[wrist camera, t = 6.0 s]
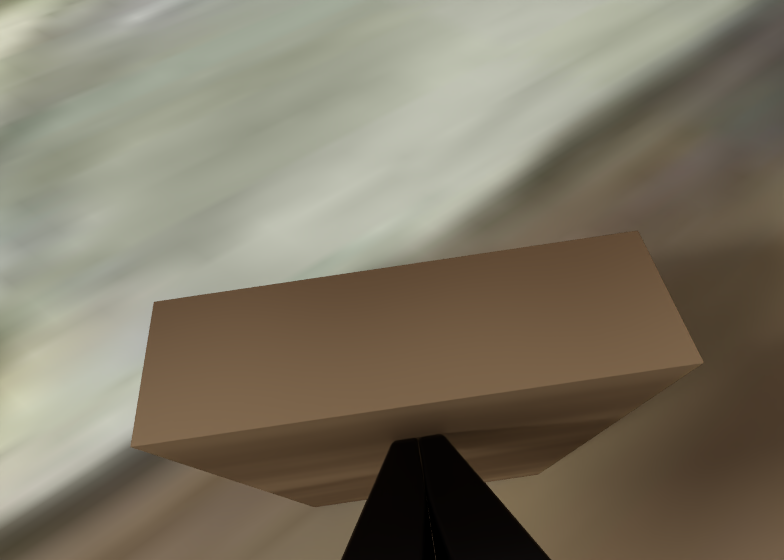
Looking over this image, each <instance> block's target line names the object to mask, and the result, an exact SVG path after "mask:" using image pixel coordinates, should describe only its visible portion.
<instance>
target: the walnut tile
mask: <svg viewBox="0 0 784 560" xmlns="http://www.w3.org/2000/svg"><path fill="white" fill-rule="evenodd" d="M703 363H704V362H703V360H702V358H701V356H700V354H699V352H698V350H697V348H696V346H695V344H694V342H693V340H692V338H691V336H690V334H689V332H688V330H687V328H686V326H685V324H684V322H683V320H682V318H681V316H680V314H679V312H678V310H677V308H676V306H675V304H674V302H673V300H672V298H671V296H670V294H669V292H668V290H667V288H666V286H665V284H664V282H663V280H662V278H661V276H660V274H659V272H658V270H657V268H656V266H655V264H654V262H653V260H652V258H651V256H650V254H649V252H648V250H647V248H646V246H645V244H644V242H643V240H642V238H641V236H640V234H639V232H638V231H632V232H625V233H618V234H611V235H605V236H598V237H591V238H584V239H577V240H571V241H564V242H557V243H550V244H544V245H537V246H530V247H523V248H516V249H510V250H503V251H496V252H489V253H482V254H476V255H469V256H462V257H455V258H449V259H442V260H435V261H428V262H421V263H415V264H408V265H401V266H394V267H388V268H381V269H374V270H367V271H360V272H354V273H347V274H340V275H333V276H327V277H320V278H313V279H306V280H299V281H293V282H286V283H279V284H272V285H265V286H259V287H252V288H245V289H238V290H232V291H225V292H218V293H211V294H204V295H198V296H191V297H184V298H177V299H171V300H164V301H157V302H154V304H153V311H152V317H151V323H150V329H149V335H148V342H147V348H146V354H145V360H144V366H143V373H142V379H141V385H140V391H139V398H138V404H137V410H136V416H135V422H134V429H133V435H132V441H131V447H132V448H135V449H138V450H142V451H145V452H148V453H151V454H154V455H157V456H160V457H163V458H166V459H169V460H172V461H175V462H178V463H181V464H184V465H187V466H190V467H194V468H197V469H200V470H203V471H206V472H209V473H212V474H215V475H218V476H221V477H224V478H227V479H230V480H233V481H236V482H239V483H242V484H245V485H249V486H252V487H255V488H258V489H261V490H264V491H267V492H270V493H273V494H276V495H279V496H282V497H285V498H288V499H291V500H294V501H297V502H300V503H304V504H307V505H310V506H313V507H319V506H326V505H332V504H339V503H346V502H353V501H360V500H367V499H368V496H369V494H370V492H371V489H372V487H373V485H374V482H375V480H376V478H377V475H378V473H379V471H380V468H381V466H382V464H383V462H384V459H385V457H386V455H387V452H388V450H389V448H390V446H391V444H392V443H393V442H394V441H397V440H404V439H411V438H415V439H417V441H418V444H419V439H420V438H421V437H425V436H431V435H438V434H442V435H444V436H445V437H446V438H447V439H448V440H449V441H450V443H451V444H452V445H453V446H454V447H455V448H456V450H457V451H458V452H459V453H460V454H461V455H462V457H463V458H464V459H465V460H466V461H467V462H468V464H469V465H470V466H471V467H472V468H473V469H474V470H475V472H476V473H477V474H478V475H479V476H480V477H481V479H482V480H483V481H484V482H490V481H497V480H503V479H510V478H517V477H524V476H531V475H538V474H539V473H541V472H542V471H544V470H545V469H547V468H548V467H550V466H551V465H553V464H554V463H556V462H557V461H559V460H560V459H562V458H563V457H565V456H566V455H568V454H569V453H571V452H572V451H574V450H575V449H577V448H578V447H580V446H581V445H583V444H584V443H586V442H587V441H588V440H590V439H591V438H593V437H594V436H596V435H597V434H599V433H600V432H602V431H603V430H605V429H606V428H608V427H609V426H611V425H612V424H614V423H615V422H617V421H618V420H620V419H621V418H623V417H624V416H626V415H627V414H629V413H630V412H632V411H633V410H635V409H636V408H638V407H639V406H641V405H642V404H643V403H645V402H646V401H648V400H649V399H651V398H652V397H654V396H655V395H657V394H658V393H660V392H661V391H663V390H664V389H666V388H667V387H669V386H670V385H672V384H673V383H675V382H676V381H678V380H679V379H681V378H682V377H684V376H685V375H687V374H688V373H690V372H691V371H693V370H694V369H695V368H697V367H698V366H700V365H701V364H703ZM419 451H420V449H419ZM420 458H421V456H420ZM421 464H422V463H421ZM422 471H423V470H422ZM423 477H424V476H423ZM424 484H425V483H424Z"/></svg>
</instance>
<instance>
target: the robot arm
mask: <svg viewBox="0 0 784 560" xmlns="http://www.w3.org/2000/svg"><path fill="white" fill-rule="evenodd" d="M419 449H420V451H419ZM420 456H421V458H420ZM421 463H422V464H421ZM422 470H423V471H422ZM423 476H424V477H423ZM424 483H425V484H424ZM427 503H428V504H427ZM428 510H429V511H428ZM429 516H430V518H429ZM430 523H431V524H430ZM431 530H432V531H431ZM432 536H433V538H432ZM433 543H434V545H433ZM434 550H435V552H434ZM435 556H436V558H435ZM341 560H551V559H550V558H549V557H548V556H547V554H546V553H545V552H544V551H543V550H542V549H541V547H540V546H539V545H538V544H537V543H536V542H535V540H534V539H533V538H532V537H531V536H530V535H529V533H528V532H527V531H526V530H525V529H524V528H523V526H522V525H521V524H520V523H519V522H518V521H517V519H516V518H515V517H514V516H513V515H512V514H511V512H510V511H509V510H508V509H507V508H506V507H505V505H504V504H503V503H502V502H501V501H500V500H499V498H498V497H497V496H496V495H495V494H494V493H493V491H492V490H491V489H490V488H489V487H488V486H487V484H486V483H485V482H484V481H483V480H482V479H481V477H480V476H479V475H478V474H477V473H476V472H475V470H474V469H473V468H472V467H471V466H470V465H469V464H468V462H467V461H466V460H465V459H464V458H463V457H462V455H461V454H460V453H459V452H458V451H457V450H456V448H455V447H454V446H453V445H452V444H451V443H450V441H449V440H448V439H447V438H446V437H445V436H444V435H442V434H438V435H431V436H425V437H421V438H420V439H419V444H418V441H417V439H415V438H411V439H404V440H397V441H394V442H393V443H392V444H391V446H390V448H389V450H388V452H387V455H386V457H385V459H384V462H383V464H382V466H381V468H380V471H379V473H378V475H377V478H376V480H375V482H374V485H373V487H372V489H371V492H370V494H369V496H368V499H367V501H366V503H365V505H364V508H363V510H362V512H361V515H360V517H359V519H358V522H357V524H356V526H355V529H354V531H353V533H352V536H351V538H350V540H349V542H348V545H347V547H346V549H345V552H344V554H343V556H342V559H341Z"/></svg>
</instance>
